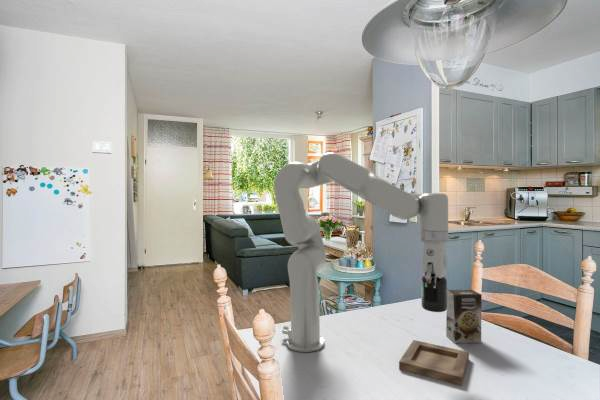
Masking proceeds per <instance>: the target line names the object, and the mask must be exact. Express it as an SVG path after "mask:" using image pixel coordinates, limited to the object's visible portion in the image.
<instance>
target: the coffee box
mask: <svg viewBox="0 0 600 400" xmlns="http://www.w3.org/2000/svg"><path fill="white" fill-rule="evenodd" d="M482 296H483V295H482V294H481V293H479V292H477V291H475V290H473V289H447V309H446V319H445V320H446V321H445V322H446V337H447V338H449V340H450V341H451V342H453V344H481V343H482Z"/></svg>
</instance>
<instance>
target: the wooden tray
mask: <svg viewBox="0 0 600 400" xmlns="http://www.w3.org/2000/svg"><path fill="white" fill-rule="evenodd" d="M469 357H470V352H469V351H467V350H461V349H457V348H452V347H448V346H443V345H438V344H434V343H430V342H429V343H428V342H426V341H425V342H424V341H419V340H416V339H413V340H412V342H411V343H410V345H409V346H408V347H407V349H406V350H405V352H404V354H403V355H402V356H401V358H400V360H399V361H398V369H399V370H401V371H405V372H408V373H412V374H416V375H420V376H423V377H427V378H431V379H435V380H439V381H442V382H445V383H446V382H447V383H449V384H454V385H457V386H460V385H461V387H462V386H463V382H464V378H465V374H466V370H467V367H468V364H469V360H470V359H469Z"/></svg>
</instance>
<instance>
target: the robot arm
mask: <svg viewBox="0 0 600 400" xmlns="http://www.w3.org/2000/svg"><path fill="white" fill-rule="evenodd" d="M273 183H274V184H273V193H274V196H275V201H276V204H277V208H278V212H279V213H278V214H279V217H280V222H281V226H282V230H283V231H282V232H283V236H284V238H285V241H286V242H287V243H289V244H290V245H292V246H297V247H298V249H297V250H295V251H294V252H292V254H291V255H290V256H289V259H288V261H287V273H288V281H289V289H290V290H289V292H290V293H289V295H290V298H289V299H290V326H289V325H283V327H282V331H281V333H282V334H284V335H287V336H288V337H287V338H286V341H285V342H286V346H287V347H288V348H289V350H292V351H295V352H300V353H310V352H311V353H312V352H315V351H319V350H320V349H322V348H323V347H324V346H325V345H326V344H325V342H326V341H325V338H324V337H323V336H322V335H320V332H321V331H320V330H321V329H320V323H321V322H320V320H321V319H320V286H319V278H318V272H319V271H320V270H322V269H323V268H324V266H325V265H326V261H327V254H326V248H325V245H324V240H323V236H322V232H321V229H320V225H319V224H318V222H317V220H316V218H314V217H313V216H311V215H308V214H307V213H306V210H305V206H304V205H305V204H304V202H303V201H304V200H303V198H302V197H301V195H300V189H311V188H315V187H318V186H323V185H326V184H330V183H334V184H337V185H338V186H340V187H341V188H344V189H346V190H347V191H349V192H351V193H352V194H354V195H356V196H357V197H359V198H361V199H363V200H364V201H367V202H368V203H369V204H371V205H373V206H375V207H376V208H378V209H380V210H381V211H384V212H385V213H388V214H389V215H390V216H393V217H394V218H397V219H399V220H402V221H403V220H404V221H407V220H411V219H412V218H415V217H416V218H417V217H419V242H422V243H423V246H422V247H423V248H422V274H423V275H422V276H425V277H426V283H425V301H428V302H434V303H437V302H438V288H436V286H437V277H439V279H441V278H442V277H443V276H444V277H445V275H446V274H447V272H448V270H447V247H446V246H447V245H446V243H449V197H448V195H447V194H445V193H442V192H441V193H440V192H436V193H435V192H434V193H433V192H430V193H429V192H426V193H411V192H407V191H405V190H403V189H401V188H399V187H397V186H396V185H393V184H391V183H389V182H387V181H385V180H384V179H382V178H381V177H379V176H378V175H377V174H376V173H375V172H373V171H372V170H370V169H368V168H366V167H365V166H363V165H360V164H358V163H356V162H355V161H353V160H350V159H349V158H347V157H345V156H344V155H342V154H340V153H336V152H333V151H331V152H326V153H324V154H322V156H320V158H319V160H317V161H313V162H311V163H305V162H299V161H292V162H289V163H287V164H285V165H283V166H282V167H281V169H279V170H278V172H277V174H276V175H275V178H274V182H273ZM426 271H427V273H426ZM432 275H435V277H434V276H432ZM432 279H434V281H433V280H432Z"/></svg>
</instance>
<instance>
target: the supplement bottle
mask: <svg viewBox="0 0 600 400" xmlns="http://www.w3.org/2000/svg"><path fill="white" fill-rule="evenodd" d="M426 273H427V271H426ZM432 276H434V277H435V275H432ZM432 280H433V281H434V279H432ZM425 283H426V277H425V276H424V275H422V277H421V307H422V309H424V310H425V311H427V312H433V313H442V312H447V290H448V281H447V278H446V277H445V275H444V276H443V277H442V278H441V279H439V277H437V286H436V288H438V302H437V303H434V302H428V301H425Z"/></svg>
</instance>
